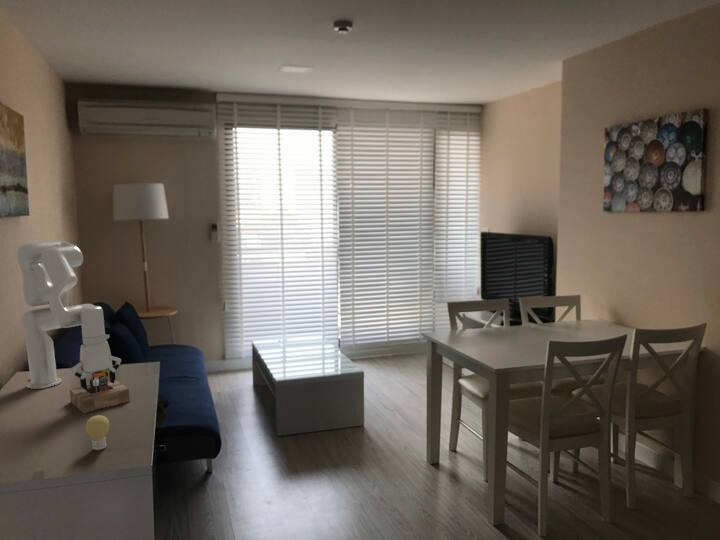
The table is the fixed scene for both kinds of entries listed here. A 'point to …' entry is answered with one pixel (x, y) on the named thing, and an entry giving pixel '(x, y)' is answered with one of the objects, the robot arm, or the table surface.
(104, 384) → the pill bottle
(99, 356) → the robot arm
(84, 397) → the socket block
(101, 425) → the light bulb
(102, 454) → the table surface
